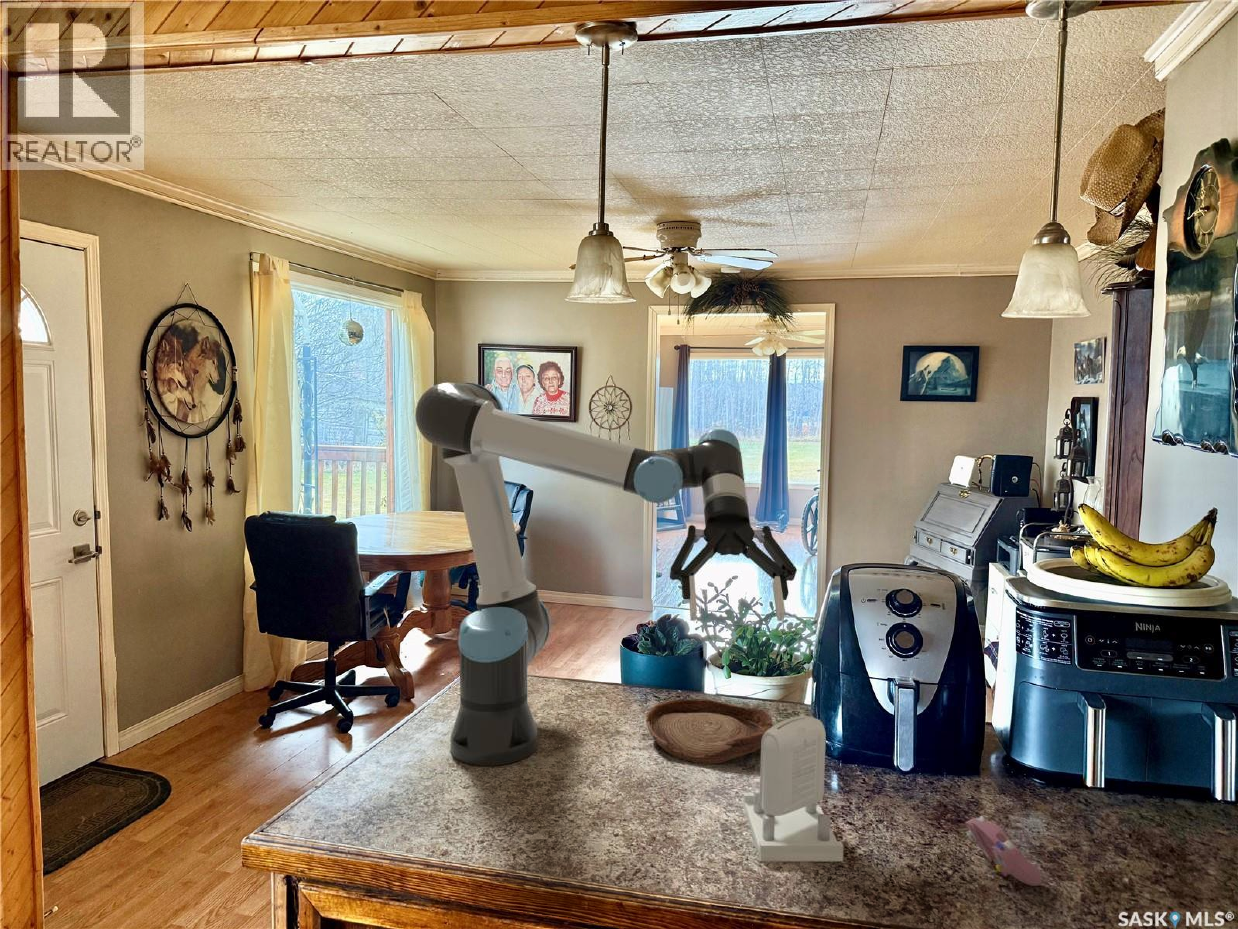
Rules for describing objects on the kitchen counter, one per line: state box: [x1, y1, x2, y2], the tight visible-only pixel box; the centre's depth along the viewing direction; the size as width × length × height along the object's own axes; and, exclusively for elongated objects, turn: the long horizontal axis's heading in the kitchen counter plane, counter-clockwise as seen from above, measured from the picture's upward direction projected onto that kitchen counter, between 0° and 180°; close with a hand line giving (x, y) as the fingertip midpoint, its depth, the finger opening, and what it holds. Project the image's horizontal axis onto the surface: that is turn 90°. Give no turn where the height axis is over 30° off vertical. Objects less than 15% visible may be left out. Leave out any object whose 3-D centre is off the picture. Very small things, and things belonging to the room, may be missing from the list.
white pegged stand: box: [742, 788, 844, 862], centre depth 112 cm, size 14×11×4 cm
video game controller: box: [964, 815, 1043, 887], centre depth 104 cm, size 10×5×7 cm, turn 7°
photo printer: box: [759, 715, 827, 816], centre depth 111 cm, size 10×4×12 cm, turn 124°
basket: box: [645, 698, 773, 765], centre depth 141 cm, size 22×20×5 cm
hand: (737, 617), depth 122 cm, fingers open, 13 cm apart
